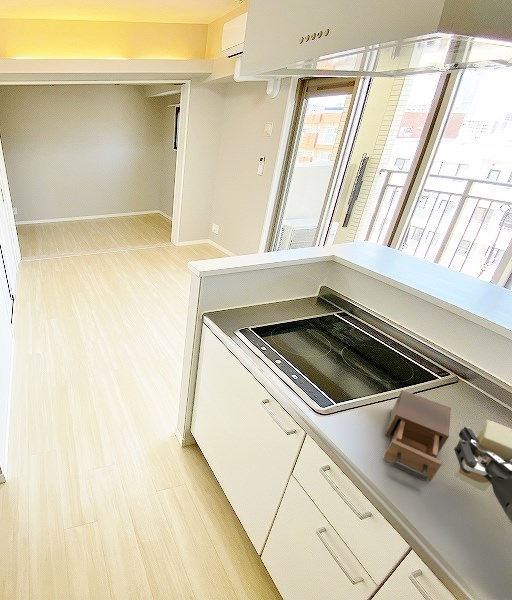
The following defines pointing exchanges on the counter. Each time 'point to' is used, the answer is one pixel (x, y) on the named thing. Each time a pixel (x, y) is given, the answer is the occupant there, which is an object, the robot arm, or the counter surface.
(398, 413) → the cabinet
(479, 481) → the cosmetic box
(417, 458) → the drawer
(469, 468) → the robot arm
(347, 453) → the counter surface
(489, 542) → the counter surface
